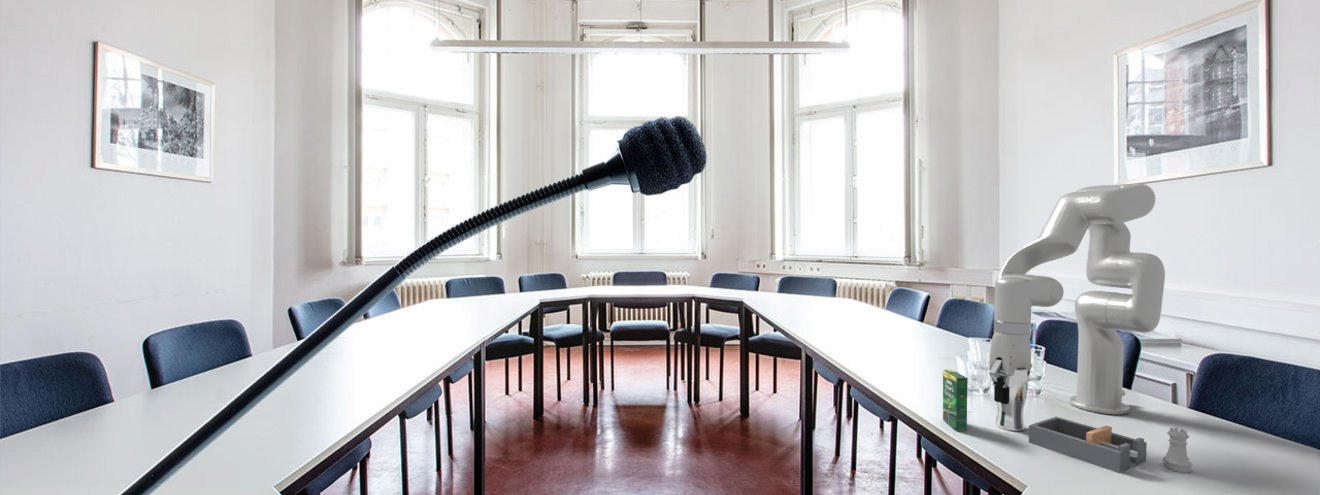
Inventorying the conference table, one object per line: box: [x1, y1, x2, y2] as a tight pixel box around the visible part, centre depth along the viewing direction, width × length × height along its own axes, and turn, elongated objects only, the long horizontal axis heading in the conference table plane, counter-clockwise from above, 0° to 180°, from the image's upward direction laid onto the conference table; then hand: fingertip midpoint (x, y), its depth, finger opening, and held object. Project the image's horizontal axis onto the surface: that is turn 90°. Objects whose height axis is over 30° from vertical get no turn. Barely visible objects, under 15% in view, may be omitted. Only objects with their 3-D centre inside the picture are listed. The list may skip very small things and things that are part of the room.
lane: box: [1028, 416, 1148, 474], centre depth 118 cm, size 11×17×5 cm
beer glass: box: [993, 367, 1029, 432], centre depth 132 cm, size 7×7×15 cm
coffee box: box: [942, 369, 969, 432], centre depth 133 cm, size 8×3×13 cm, turn 174°
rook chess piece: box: [1161, 427, 1193, 474], centre depth 109 cm, size 4×4×8 cm
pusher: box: [1086, 425, 1138, 458], centre depth 113 cm, size 8×7×5 cm
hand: (1010, 399), depth 132 cm, fingers closed on beer glass, 6 cm apart
